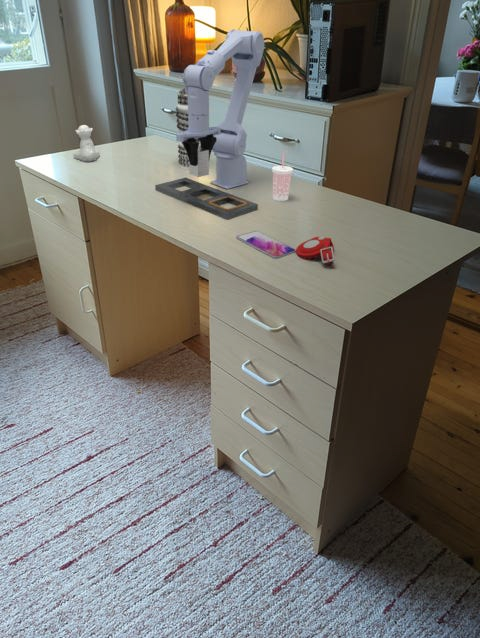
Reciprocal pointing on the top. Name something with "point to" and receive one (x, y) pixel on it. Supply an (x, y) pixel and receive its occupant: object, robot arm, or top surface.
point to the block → (200, 163)
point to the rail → (208, 204)
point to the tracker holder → (317, 249)
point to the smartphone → (266, 244)
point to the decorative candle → (183, 126)
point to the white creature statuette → (86, 145)
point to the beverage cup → (281, 181)
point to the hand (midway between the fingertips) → (199, 163)
